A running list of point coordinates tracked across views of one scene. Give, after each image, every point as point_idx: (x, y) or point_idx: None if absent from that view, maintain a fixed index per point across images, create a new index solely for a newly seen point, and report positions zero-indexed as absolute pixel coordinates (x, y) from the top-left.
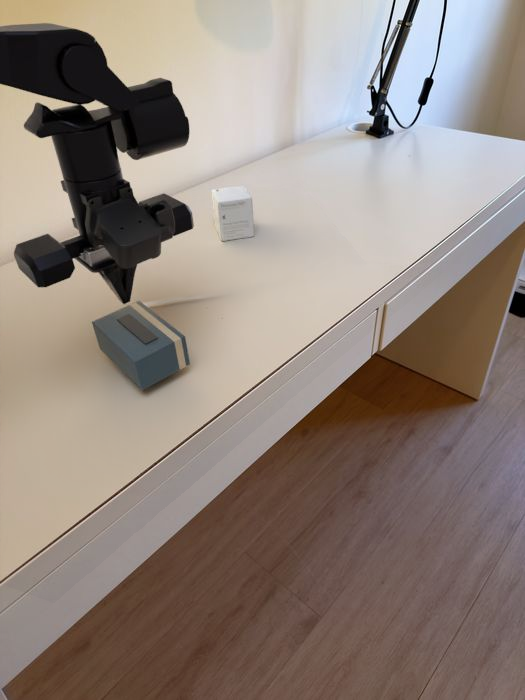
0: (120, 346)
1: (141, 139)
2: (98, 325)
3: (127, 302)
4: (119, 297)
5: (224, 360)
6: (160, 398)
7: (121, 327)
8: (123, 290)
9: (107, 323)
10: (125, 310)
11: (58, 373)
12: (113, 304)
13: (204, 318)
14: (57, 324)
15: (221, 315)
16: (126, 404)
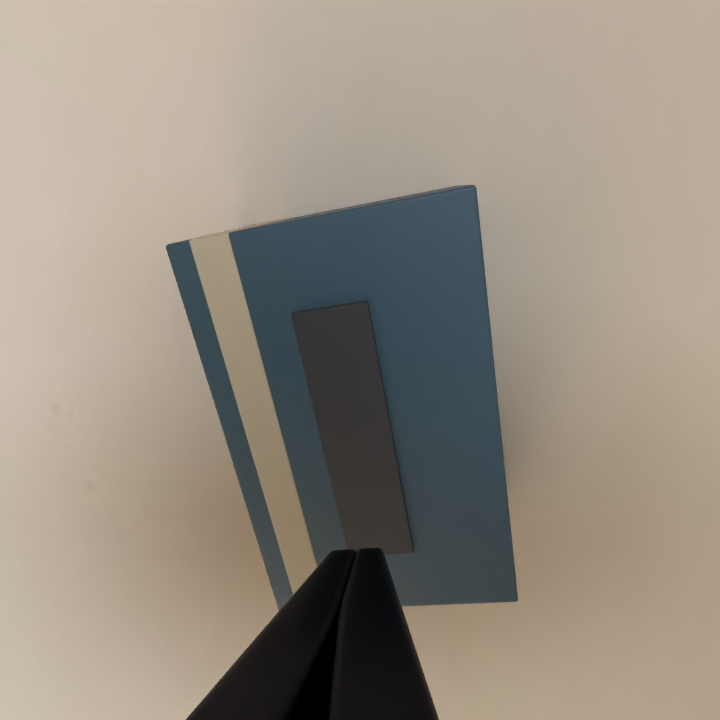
0: (483, 361)
1: None
2: (503, 563)
3: (352, 549)
4: (399, 604)
5: (109, 174)
6: (415, 92)
7: (418, 492)
8: (345, 643)
9: (462, 553)
10: None
11: (681, 467)
12: None
13: (113, 442)
14: (560, 686)
15: (54, 423)
16: (550, 139)
